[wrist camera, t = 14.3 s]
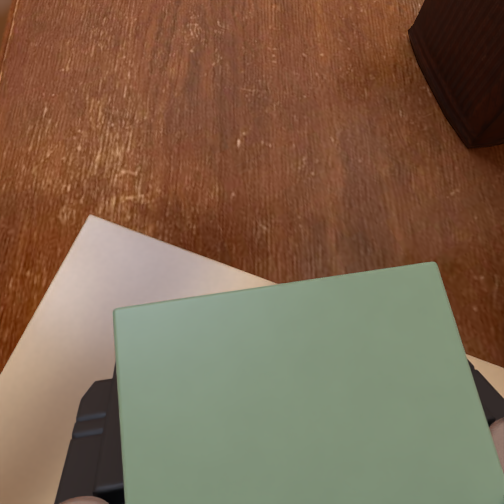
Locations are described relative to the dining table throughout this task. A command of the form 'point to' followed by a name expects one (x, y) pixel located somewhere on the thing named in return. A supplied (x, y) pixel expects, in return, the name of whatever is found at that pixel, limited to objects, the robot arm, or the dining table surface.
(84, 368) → the shelf
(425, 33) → the coffee grinder
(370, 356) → the green carton
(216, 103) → the dining table surface
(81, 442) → the robot arm
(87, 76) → the dining table surface
